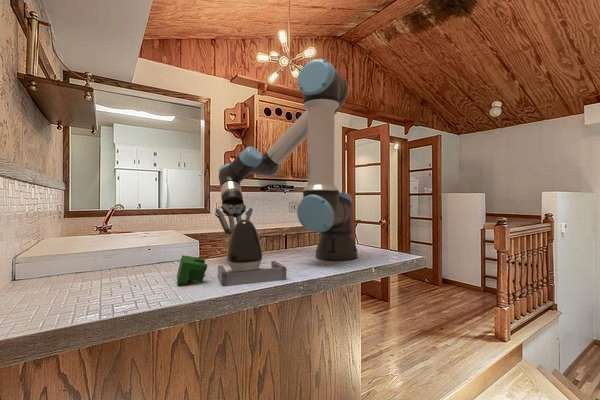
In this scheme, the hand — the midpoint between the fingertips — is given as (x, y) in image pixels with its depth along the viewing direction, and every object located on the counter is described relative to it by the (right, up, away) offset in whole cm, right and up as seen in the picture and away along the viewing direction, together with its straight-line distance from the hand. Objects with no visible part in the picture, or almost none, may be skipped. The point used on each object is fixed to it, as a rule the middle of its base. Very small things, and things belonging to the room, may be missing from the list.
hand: (239, 249), depth 93 cm
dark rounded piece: (+3, -6, -5) cm, 8 cm away
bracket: (+6, -5, -13) cm, 15 cm away
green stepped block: (-10, -6, -15) cm, 18 cm away
